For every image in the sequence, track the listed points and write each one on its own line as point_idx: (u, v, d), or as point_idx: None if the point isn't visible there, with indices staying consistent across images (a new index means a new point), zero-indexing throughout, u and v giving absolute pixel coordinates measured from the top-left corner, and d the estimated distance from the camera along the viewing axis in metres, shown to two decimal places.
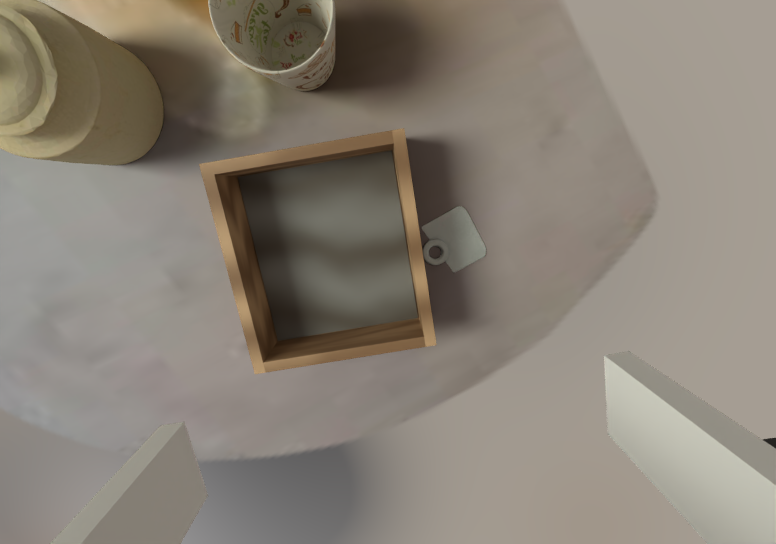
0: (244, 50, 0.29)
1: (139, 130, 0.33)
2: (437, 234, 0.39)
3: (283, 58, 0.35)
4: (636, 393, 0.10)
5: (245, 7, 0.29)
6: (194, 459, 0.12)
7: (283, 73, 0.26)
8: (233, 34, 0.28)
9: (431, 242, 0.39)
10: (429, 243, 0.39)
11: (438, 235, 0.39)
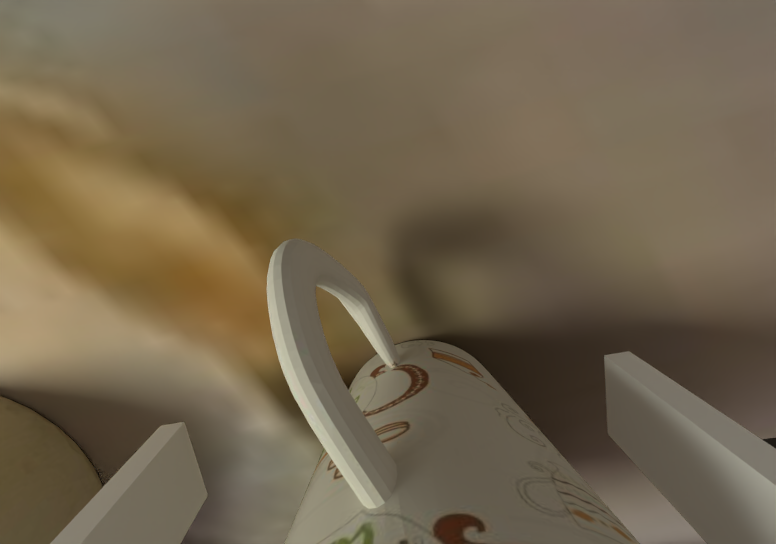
0: None
1: None
2: None
3: None
4: (636, 392, 0.10)
5: None
6: (194, 459, 0.12)
7: None
8: None
9: None
10: None
11: None
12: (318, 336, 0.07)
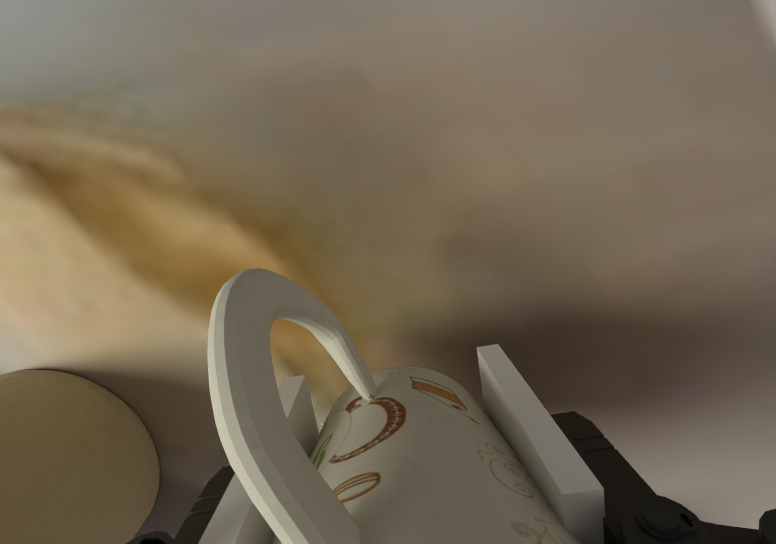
0: None
1: None
2: None
3: None
4: (489, 377, 0.12)
5: None
6: (311, 408, 0.14)
7: None
8: None
9: None
10: None
11: None
12: (264, 389, 0.06)
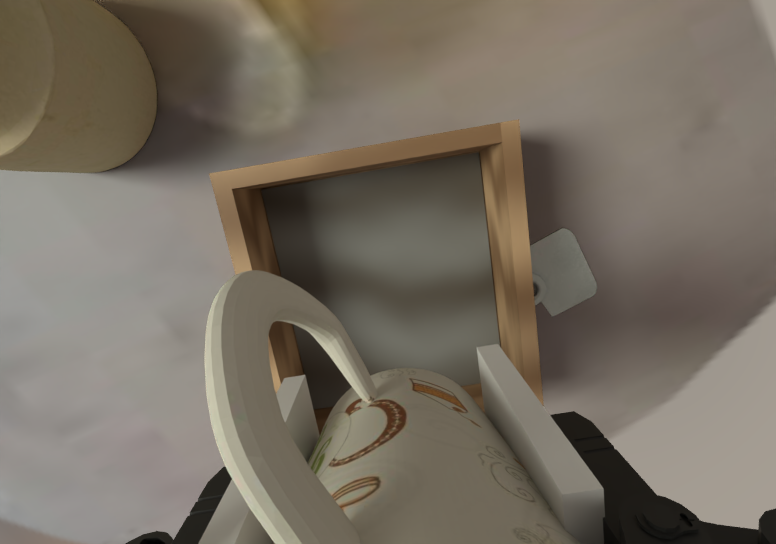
0: None
1: (121, 123, 0.23)
2: None
3: None
4: (489, 377, 0.12)
5: None
6: (311, 408, 0.14)
7: None
8: None
9: None
10: None
11: (532, 268, 0.28)
12: (262, 393, 0.06)
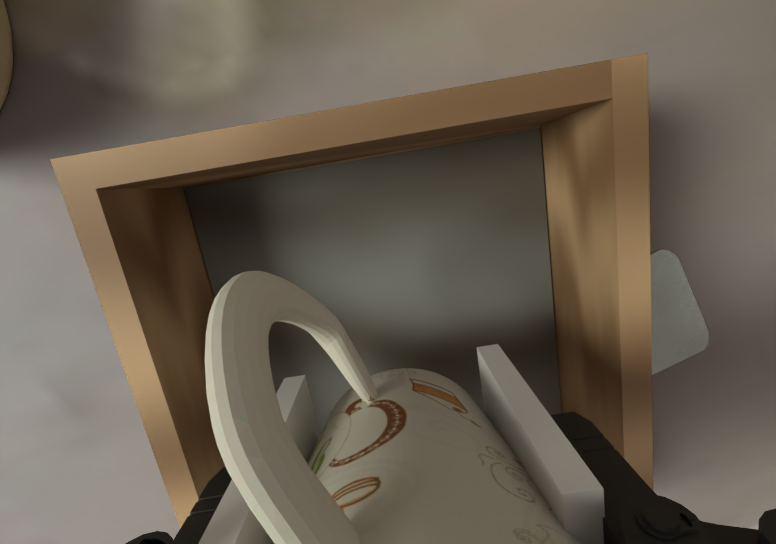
0: None
1: None
2: None
3: None
4: (489, 377, 0.12)
5: None
6: (311, 408, 0.14)
7: None
8: None
9: None
10: None
11: None
12: (262, 394, 0.06)
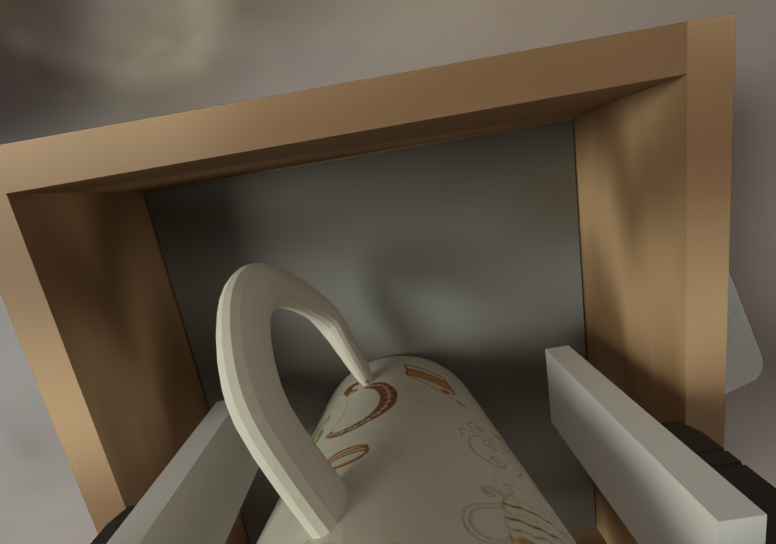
0: None
1: None
2: None
3: None
4: (567, 382, 0.11)
5: None
6: None
7: None
8: None
9: None
10: None
11: None
12: (264, 365, 0.07)
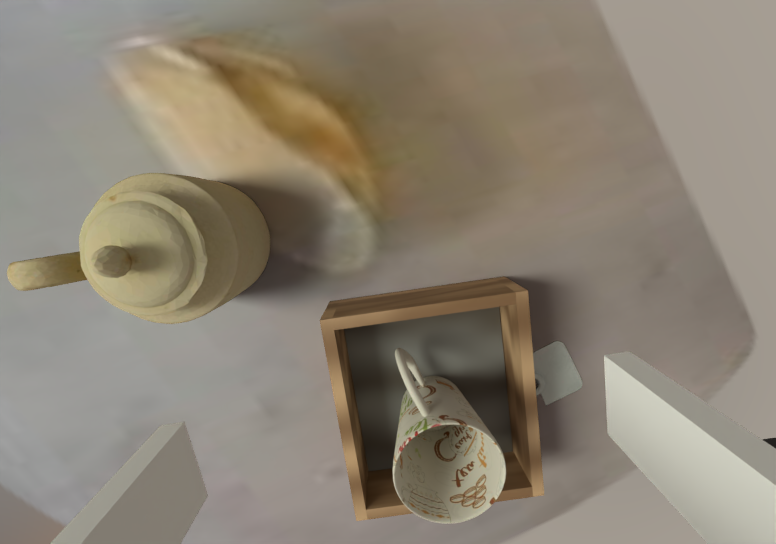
0: (405, 465, 0.31)
1: (253, 276, 0.33)
2: (534, 367, 0.38)
3: None
4: (637, 392, 0.10)
5: None
6: (194, 459, 0.12)
7: None
8: (400, 465, 0.30)
9: None
10: None
11: (535, 368, 0.38)
12: (412, 378, 0.29)
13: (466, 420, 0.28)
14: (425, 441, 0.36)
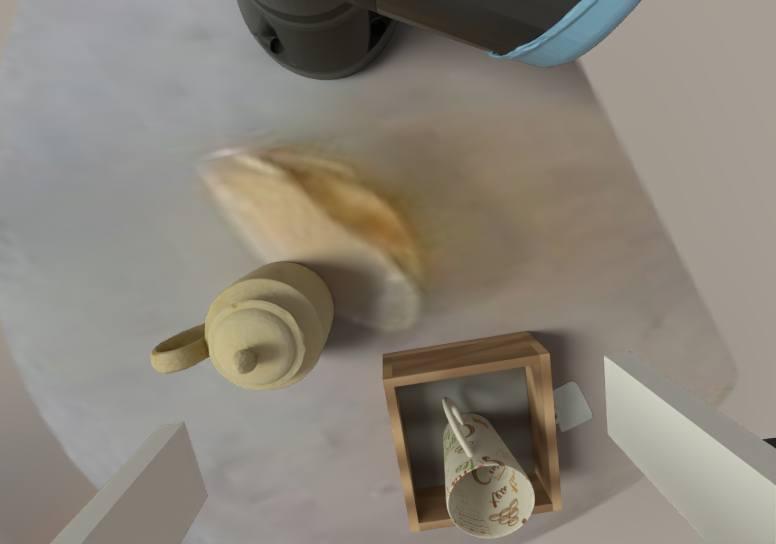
0: (452, 491, 0.39)
1: None
2: None
3: None
4: (637, 392, 0.10)
5: None
6: (194, 459, 0.12)
7: (494, 536, 0.37)
8: None
9: None
10: None
11: None
12: (459, 426, 0.37)
13: (504, 460, 0.35)
14: None
